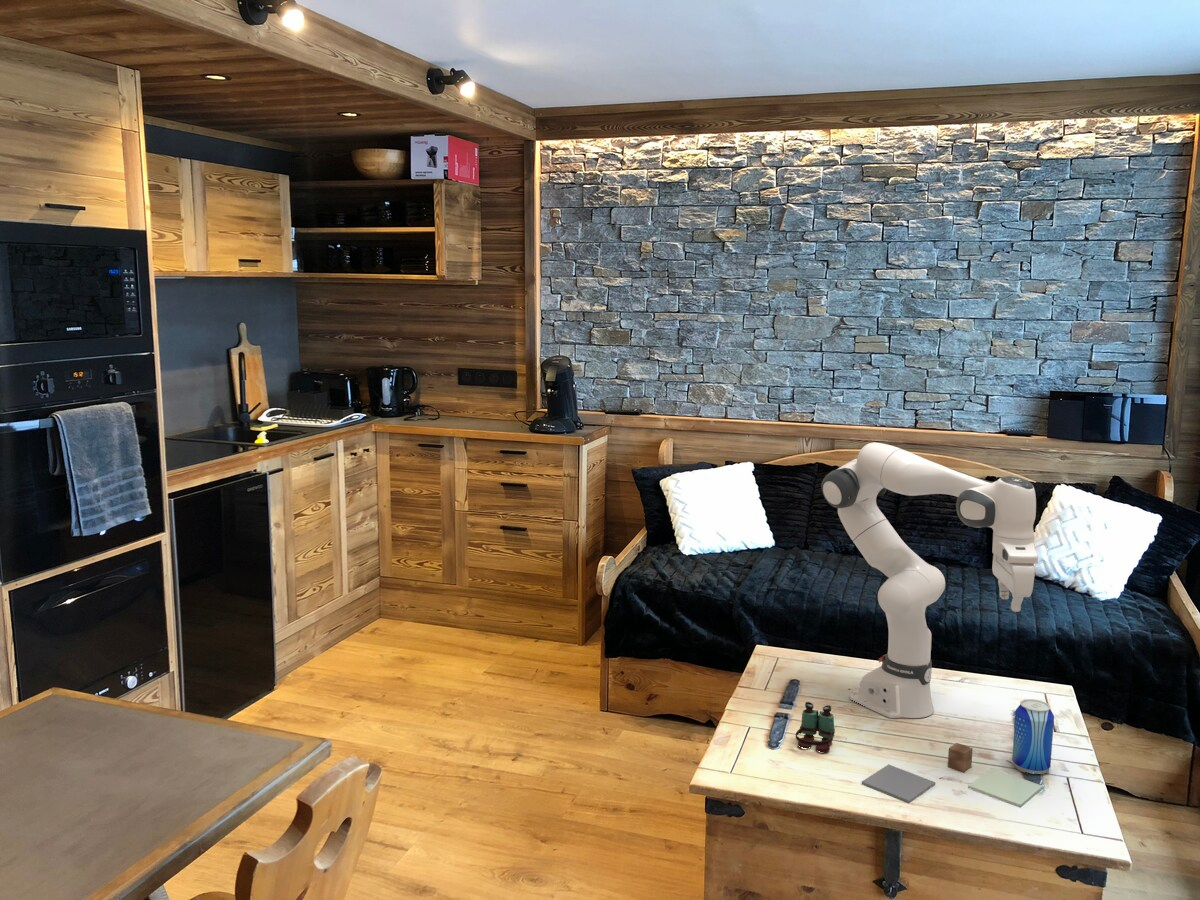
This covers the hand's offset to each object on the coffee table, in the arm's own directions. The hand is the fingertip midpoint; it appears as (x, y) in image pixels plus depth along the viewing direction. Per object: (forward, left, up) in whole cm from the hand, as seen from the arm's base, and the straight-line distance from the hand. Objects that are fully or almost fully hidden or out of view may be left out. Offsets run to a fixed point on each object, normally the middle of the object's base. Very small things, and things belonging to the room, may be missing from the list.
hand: (1009, 604), depth 227 cm
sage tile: (+6, -10, -40) cm, 42 cm away
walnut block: (-6, -8, -40) cm, 41 cm away
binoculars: (-36, -24, -41) cm, 59 cm away
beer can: (+6, +4, -40) cm, 41 cm away
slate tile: (-12, -26, -40) cm, 49 cm away
